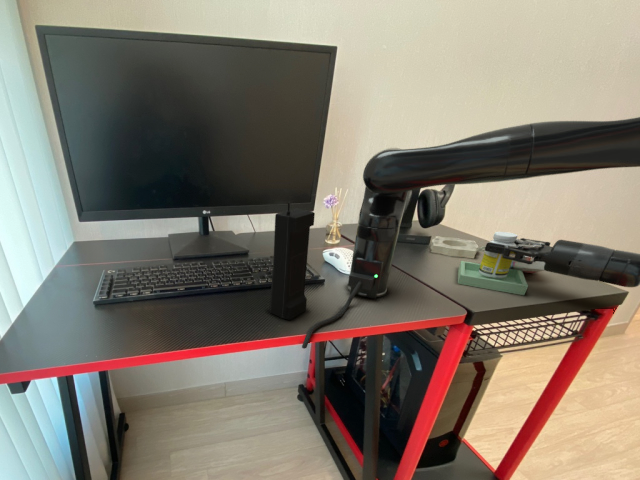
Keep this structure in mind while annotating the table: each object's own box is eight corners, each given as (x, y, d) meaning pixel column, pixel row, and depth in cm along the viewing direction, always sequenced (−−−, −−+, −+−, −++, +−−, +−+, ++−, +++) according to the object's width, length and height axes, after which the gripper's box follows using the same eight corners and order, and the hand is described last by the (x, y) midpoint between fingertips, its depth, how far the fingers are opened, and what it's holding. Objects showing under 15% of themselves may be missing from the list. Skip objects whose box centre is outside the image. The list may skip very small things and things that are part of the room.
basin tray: (524, 295, 79) (528, 286, 78) (457, 283, 86) (460, 275, 85) (518, 278, 88) (521, 269, 87) (458, 268, 95) (461, 260, 94)
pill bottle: (505, 272, 87) (520, 232, 82) (507, 280, 82) (523, 238, 77) (477, 268, 90) (490, 229, 85) (477, 276, 85) (491, 235, 80)
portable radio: (288, 300, 79) (294, 194, 67) (309, 308, 75) (319, 198, 63) (267, 312, 74) (270, 200, 62) (288, 321, 70) (295, 204, 58)
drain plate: (476, 259, 101) (478, 252, 100) (428, 252, 107) (430, 245, 106) (475, 247, 111) (477, 240, 110) (431, 242, 117) (433, 235, 116)
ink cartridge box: (532, 274, 91) (471, 265, 98) (537, 257, 91) (475, 249, 97) (545, 271, 84) (477, 262, 90) (550, 252, 83) (482, 244, 89)
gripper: (592, 237, 75) (505, 224, 86) (578, 251, 67) (485, 234, 79) (577, 268, 78) (495, 251, 90) (562, 284, 70) (475, 263, 82)
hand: (491, 243), depth 84 cm, fingers closed on pill bottle, 6 cm apart
